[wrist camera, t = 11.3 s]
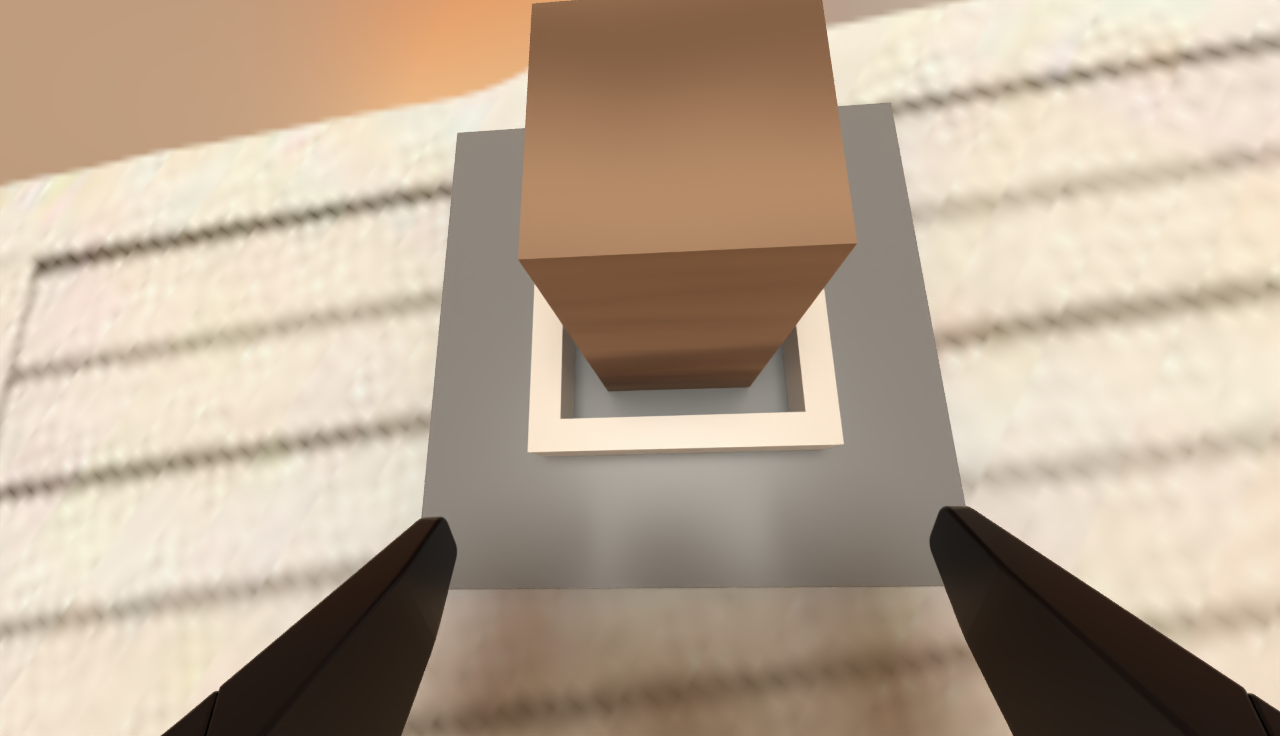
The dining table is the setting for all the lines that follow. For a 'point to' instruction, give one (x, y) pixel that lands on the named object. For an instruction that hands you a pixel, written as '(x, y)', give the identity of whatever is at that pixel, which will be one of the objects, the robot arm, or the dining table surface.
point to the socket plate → (689, 418)
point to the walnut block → (682, 182)
